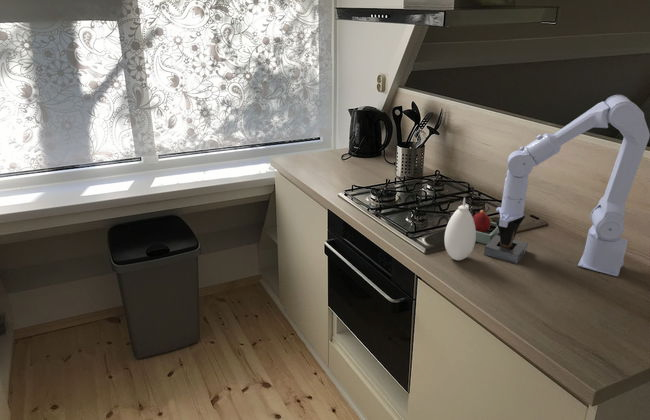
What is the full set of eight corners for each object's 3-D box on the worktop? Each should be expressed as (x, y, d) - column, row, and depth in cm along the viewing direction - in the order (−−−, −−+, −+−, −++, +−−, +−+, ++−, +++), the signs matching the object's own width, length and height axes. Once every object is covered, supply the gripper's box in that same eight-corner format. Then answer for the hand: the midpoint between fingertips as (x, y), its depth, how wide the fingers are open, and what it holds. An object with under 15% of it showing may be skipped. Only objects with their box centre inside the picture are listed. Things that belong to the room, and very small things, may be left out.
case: (500, 233, 154) (501, 224, 153) (489, 245, 146) (490, 235, 145) (469, 225, 159) (470, 216, 158) (457, 236, 152) (458, 227, 150)
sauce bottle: (459, 250, 144) (466, 190, 137) (478, 262, 137) (486, 199, 130) (437, 255, 140) (443, 194, 133) (455, 268, 134) (462, 204, 127)
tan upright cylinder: (501, 244, 144) (505, 221, 141) (513, 247, 142) (517, 224, 139) (497, 248, 141) (501, 225, 139) (509, 252, 140) (512, 228, 137)
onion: (489, 240, 149) (493, 215, 146) (469, 238, 151) (472, 213, 147) (488, 231, 155) (491, 207, 152) (468, 230, 156) (471, 205, 153)
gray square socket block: (526, 251, 143) (527, 243, 142) (517, 263, 136) (518, 255, 135) (494, 242, 148) (495, 234, 147) (484, 254, 141) (485, 246, 140)
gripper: (507, 185, 143) (500, 229, 148) (490, 200, 132) (483, 247, 137) (533, 190, 139) (525, 235, 145) (518, 207, 128) (510, 254, 134)
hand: (507, 241), depth 141 cm, fingers closed on tan upright cylinder, 3 cm apart
